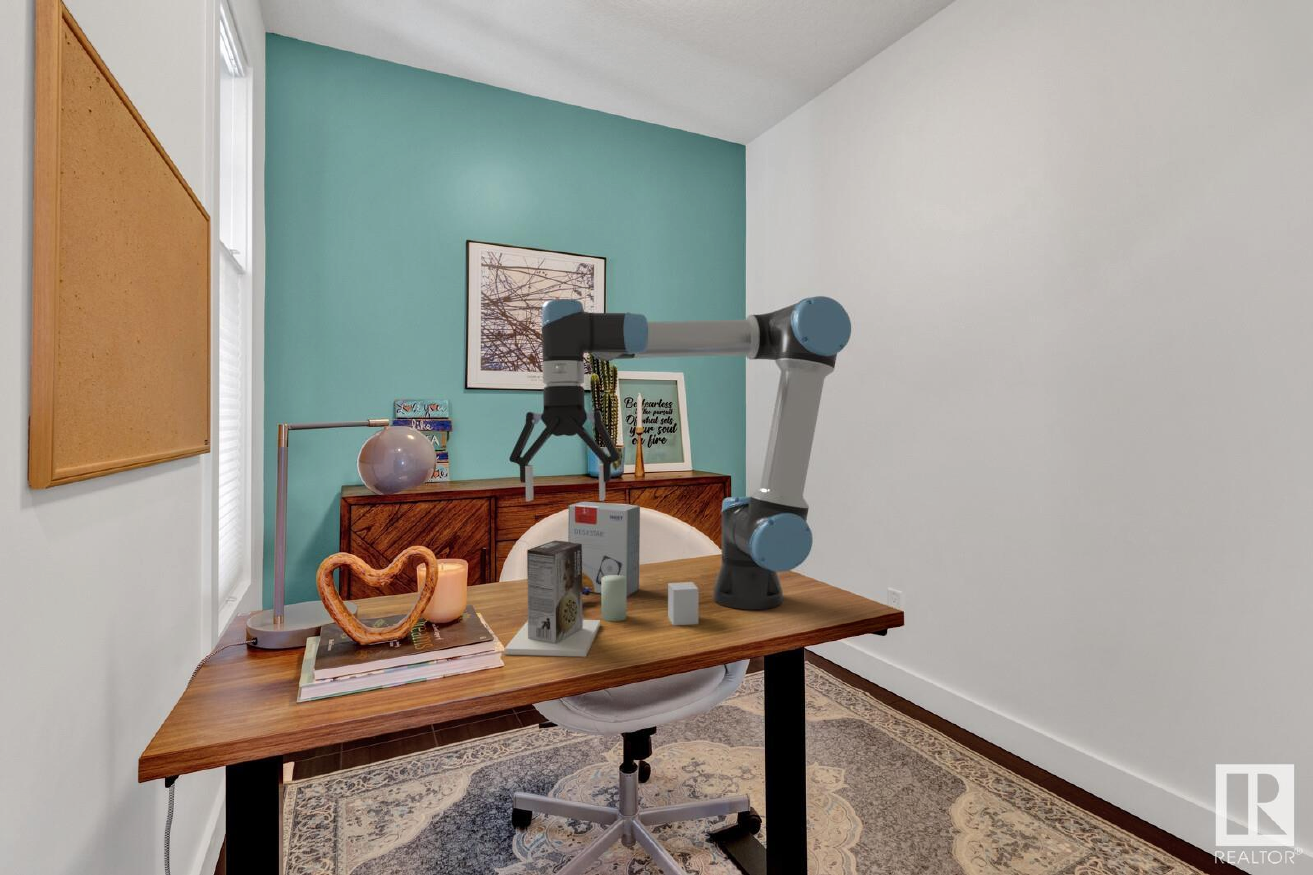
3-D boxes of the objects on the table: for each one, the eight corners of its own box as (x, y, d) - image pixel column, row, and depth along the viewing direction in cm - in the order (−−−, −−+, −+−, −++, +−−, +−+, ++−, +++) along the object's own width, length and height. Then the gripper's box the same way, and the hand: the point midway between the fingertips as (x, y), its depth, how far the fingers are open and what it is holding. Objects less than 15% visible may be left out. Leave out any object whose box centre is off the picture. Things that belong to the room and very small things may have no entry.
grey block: (691, 616, 129) (692, 582, 128) (698, 624, 124) (698, 588, 123) (668, 617, 128) (668, 583, 127) (673, 625, 123) (673, 590, 122)
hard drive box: (566, 590, 147) (566, 505, 147) (583, 582, 154) (582, 501, 154) (626, 597, 141) (626, 509, 141) (640, 589, 148) (640, 504, 148)
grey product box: (554, 623, 121) (554, 539, 120) (583, 628, 118) (583, 542, 117) (525, 638, 112) (525, 548, 112) (556, 644, 110) (556, 552, 109)
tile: (600, 625, 123) (600, 620, 123) (585, 656, 107) (585, 650, 107) (529, 623, 124) (529, 618, 124) (504, 654, 108) (504, 648, 108)
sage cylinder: (627, 613, 130) (627, 575, 130) (624, 621, 125) (624, 581, 125) (603, 613, 130) (603, 574, 130) (599, 621, 125) (599, 581, 125)
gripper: (490, 385, 113) (493, 503, 114) (629, 383, 112) (631, 502, 113) (502, 387, 121) (505, 497, 121) (632, 385, 120) (634, 496, 120)
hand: (566, 500), depth 117 cm, fingers open, 13 cm apart
